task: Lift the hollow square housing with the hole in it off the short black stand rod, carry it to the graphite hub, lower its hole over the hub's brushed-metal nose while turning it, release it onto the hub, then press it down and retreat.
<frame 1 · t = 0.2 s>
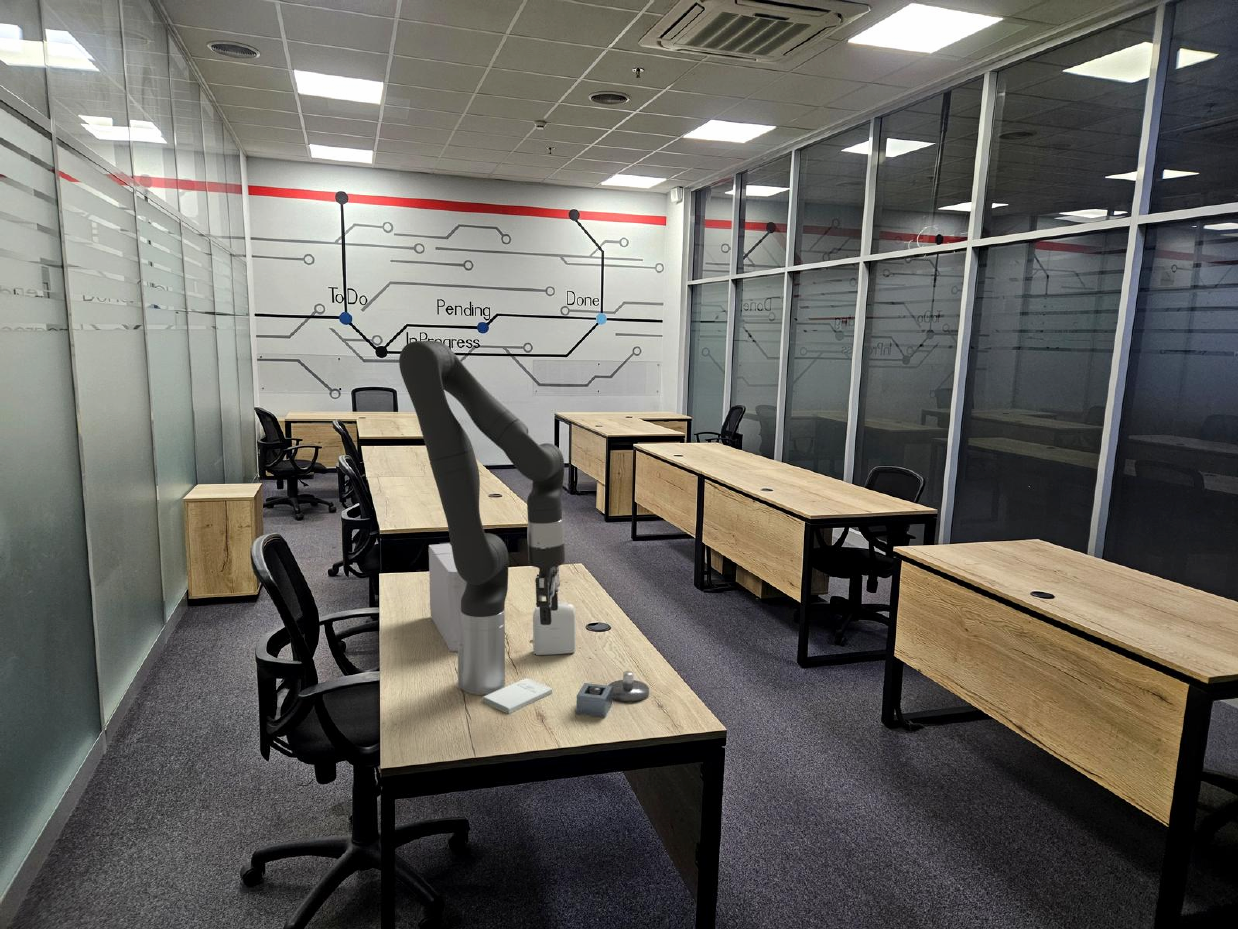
hand: (549, 617, 159), 17 cm above the table, tool pointing down, fingers open, 8 cm apart
hollow square housing: (594, 709, 156), on the table
photo printer: (554, 653, 185), on the table
game console: (450, 632, 196), on the table
hub: (627, 693, 163), on the table
external hard drive: (517, 700, 160), on the table
stand rod: (594, 709, 156), on the table
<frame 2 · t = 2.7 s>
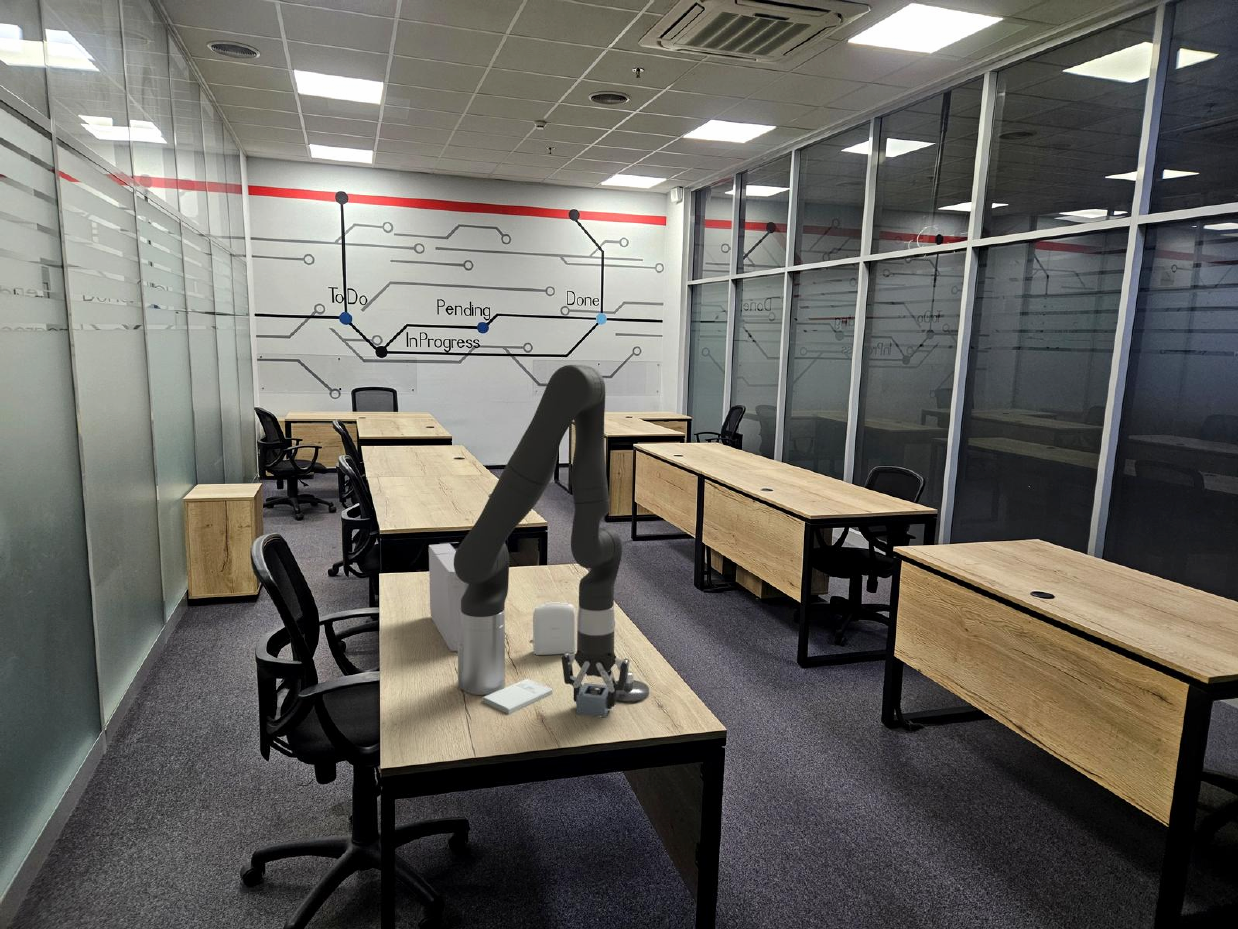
hand: (594, 705, 156), 1 cm above the table, tool pointing down, fingers closed on hollow square housing, 6 cm apart
hollow square housing: (594, 709, 156), on the table, touching gripper
everything else where it was.
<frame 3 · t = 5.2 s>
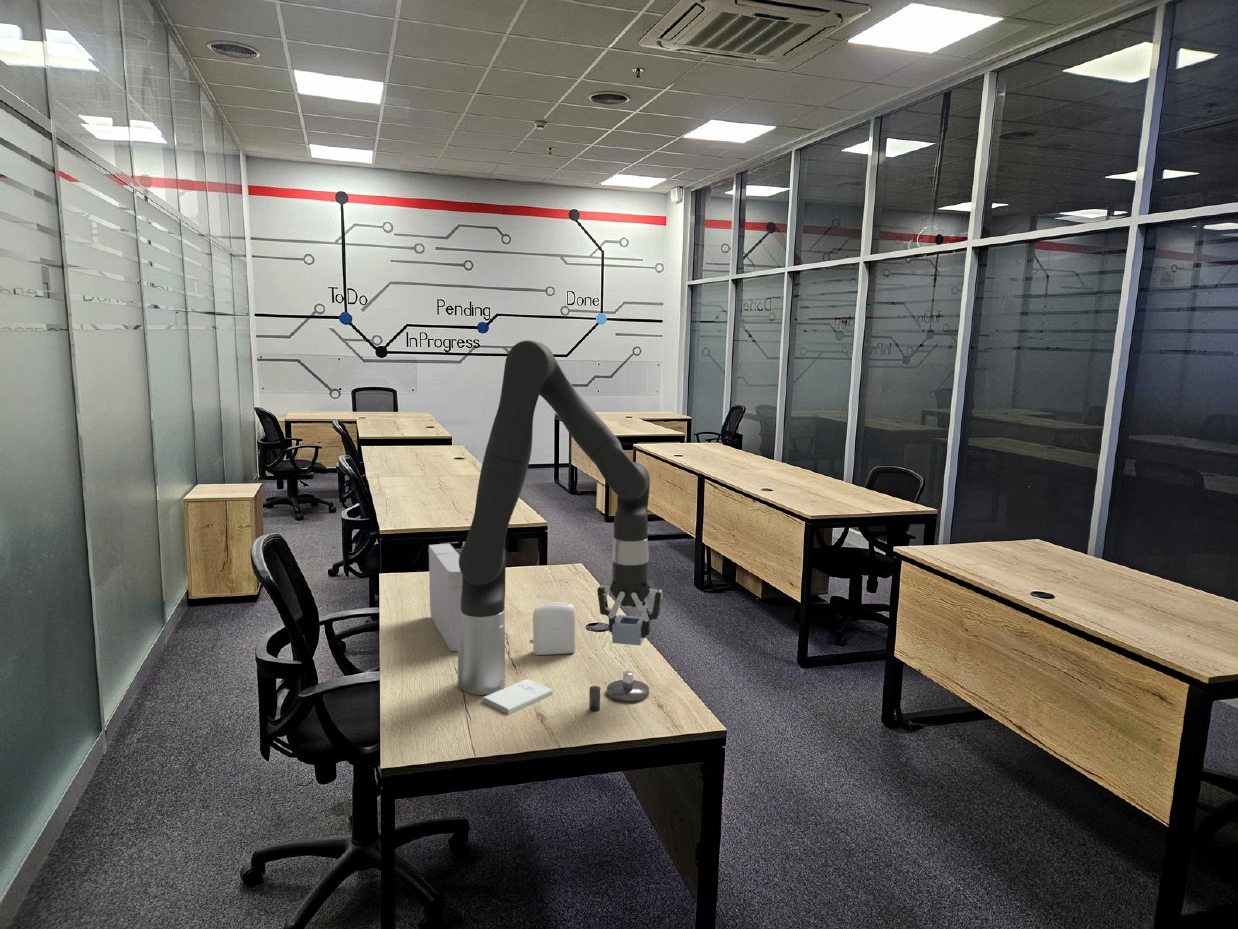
hand: (629, 635, 161), 13 cm above the table, tool pointing down, fingers closed on hollow square housing, 6 cm apart
hollow square housing: (629, 639, 162), point 12 cm above the table, touching gripper
everything else where it was.
when the fingers open (3 cm above the table, at t = 7.3 s): hollow square housing stays where it is, resting on hub.
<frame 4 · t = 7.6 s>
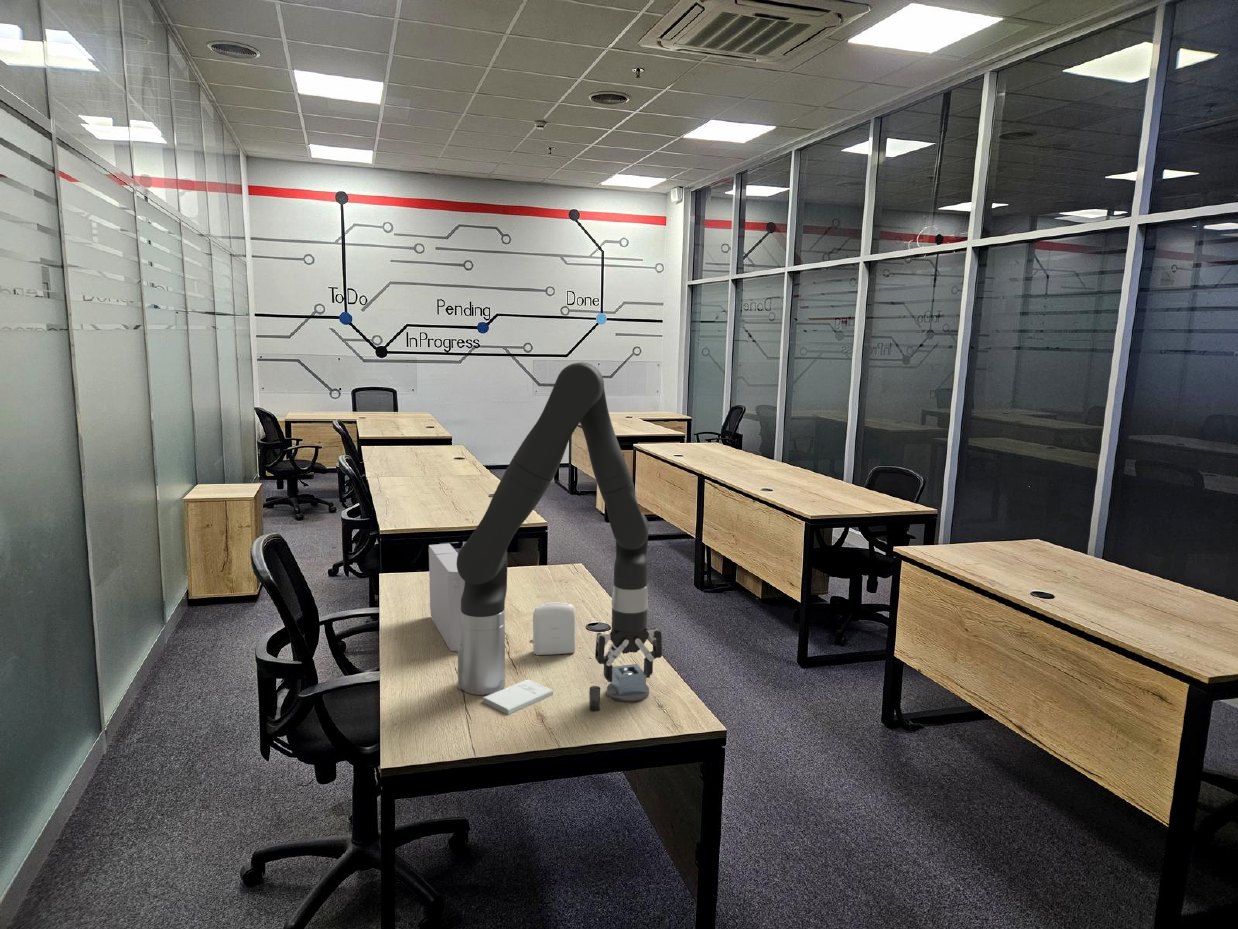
hand: (628, 678, 163), 3 cm above the table, tool pointing down, fingers open, 8 cm apart
hollow square housing: (627, 688, 163), point 1 cm above the table, touching hub
everything else where it was.
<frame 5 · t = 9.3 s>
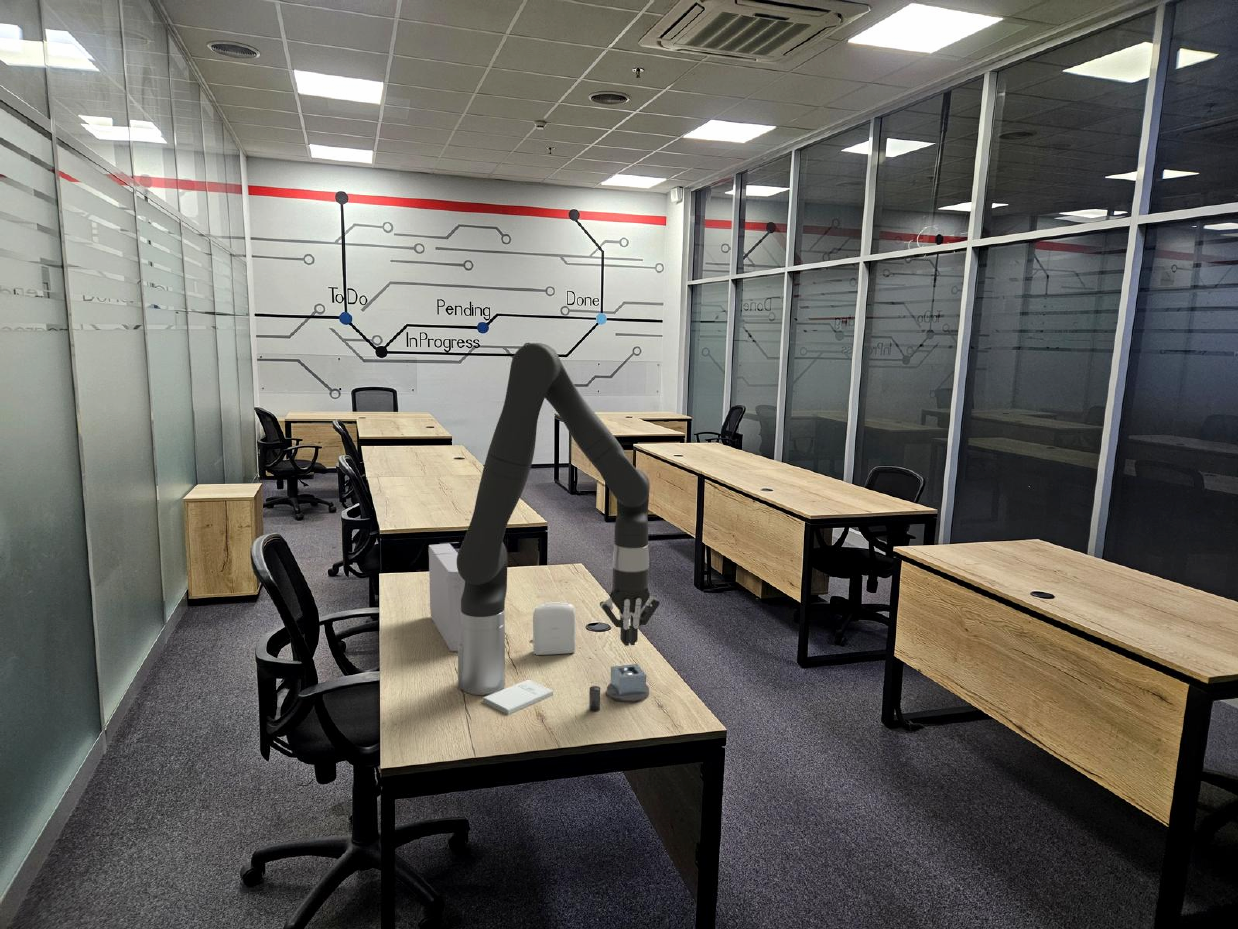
hand: (628, 644, 162), 11 cm above the table, tool pointing down, fingers closed
nothing on the table moved.
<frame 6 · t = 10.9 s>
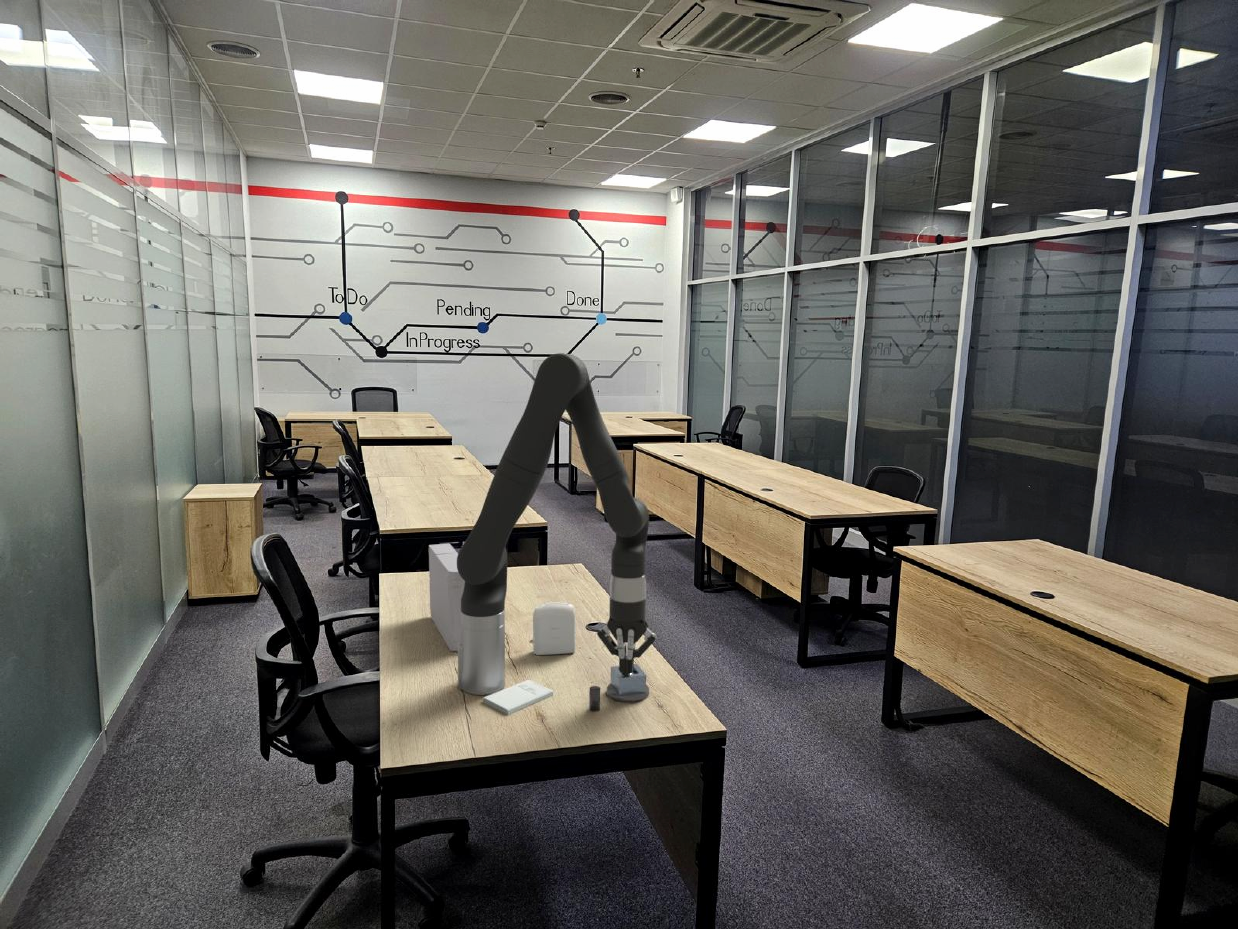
hand: (626, 674, 160), 5 cm above the table, tool pointing down, fingers closed
nothing on the table moved.
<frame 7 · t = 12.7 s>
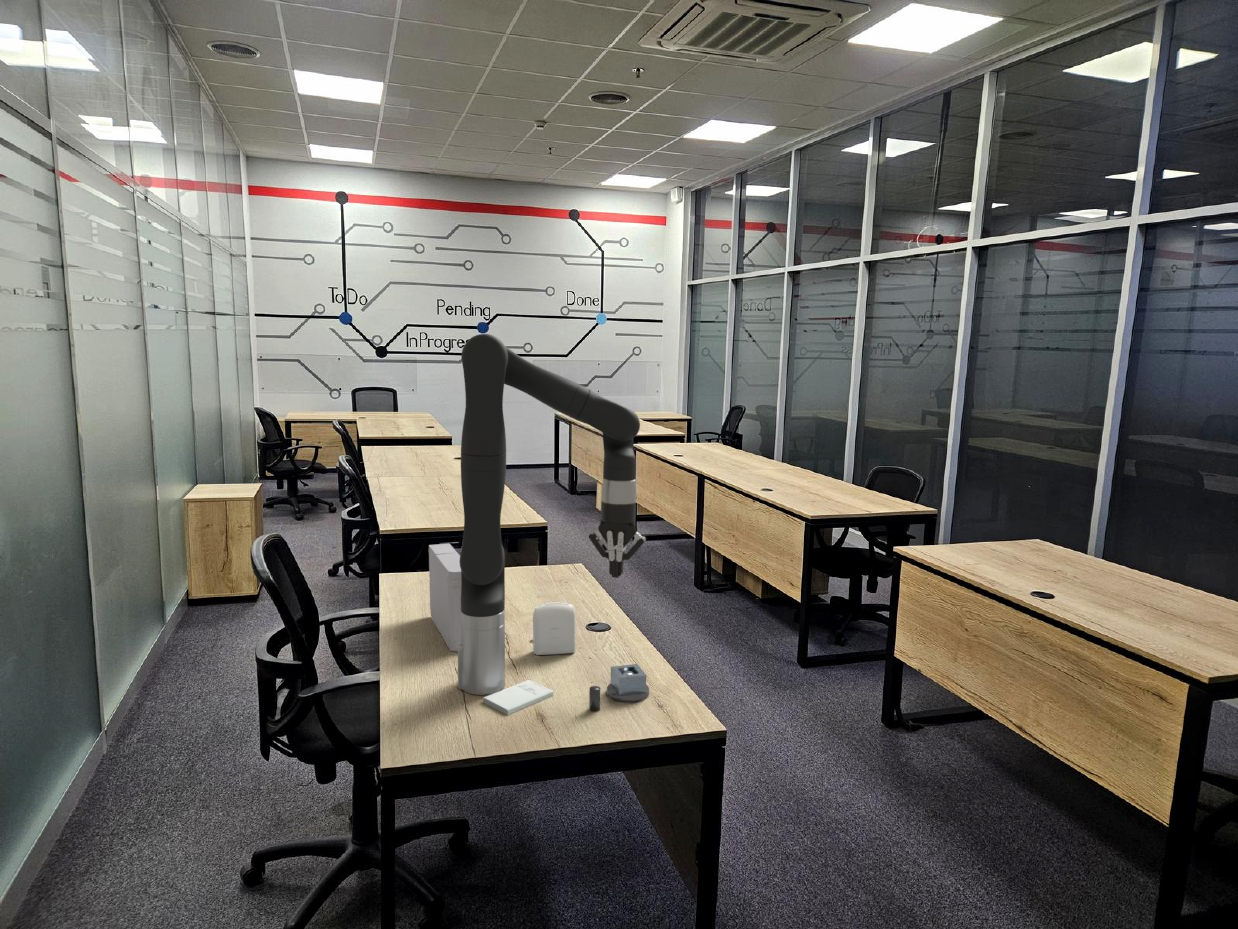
hand: (616, 576, 167), 24 cm above the table, tool pointing down, fingers closed
nothing on the table moved.
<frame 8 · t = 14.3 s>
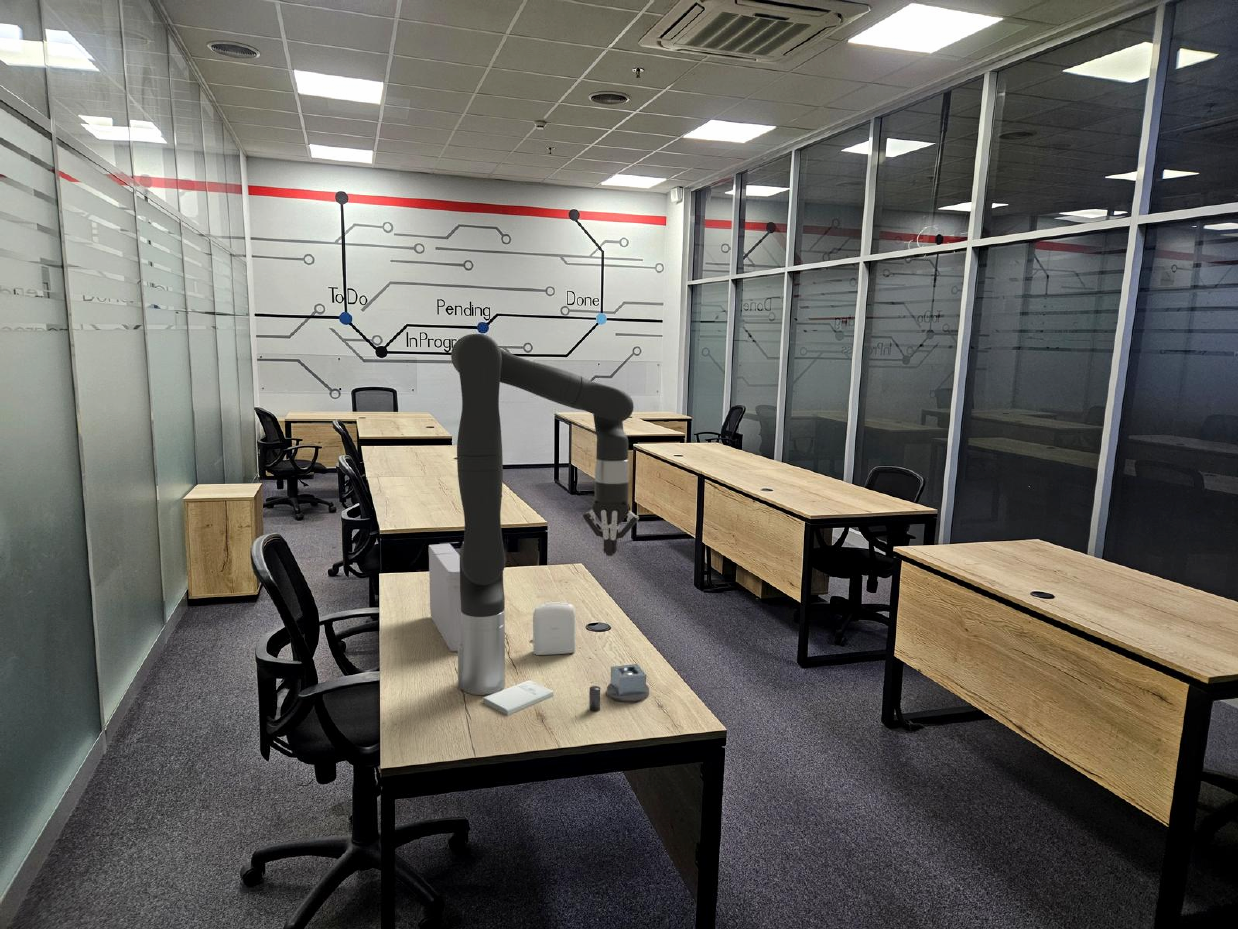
hand: (610, 555, 171), 27 cm above the table, tool pointing down, fingers closed
nothing on the table moved.
at the end: hollow square housing 0.0 cm off-centre on the hub, point 1.0 cm above the hub's base; hollow square housing tilted 0°; the gripper is holding nothing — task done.
